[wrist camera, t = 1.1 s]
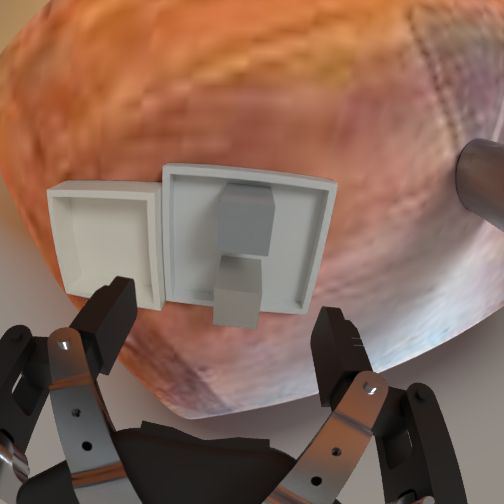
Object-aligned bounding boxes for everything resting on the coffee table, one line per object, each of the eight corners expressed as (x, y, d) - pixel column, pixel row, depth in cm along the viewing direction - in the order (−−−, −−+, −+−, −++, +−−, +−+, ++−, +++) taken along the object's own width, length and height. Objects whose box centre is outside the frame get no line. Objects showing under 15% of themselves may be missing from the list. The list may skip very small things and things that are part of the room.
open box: (167, 182, 25) (154, 192, 22) (169, 290, 31) (160, 310, 28) (66, 180, 25) (46, 189, 22) (80, 276, 30) (66, 293, 27)
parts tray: (332, 179, 25) (337, 184, 23) (304, 303, 32) (306, 314, 30) (169, 162, 24) (162, 165, 23) (170, 290, 31) (166, 300, 29)
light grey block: (261, 259, 28) (262, 293, 23) (256, 291, 30) (256, 329, 25) (221, 255, 28) (214, 288, 23) (219, 288, 30) (212, 324, 25)
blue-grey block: (271, 187, 25) (275, 206, 20) (265, 227, 27) (268, 256, 21) (227, 182, 25) (219, 200, 20) (224, 223, 27) (216, 251, 21)
